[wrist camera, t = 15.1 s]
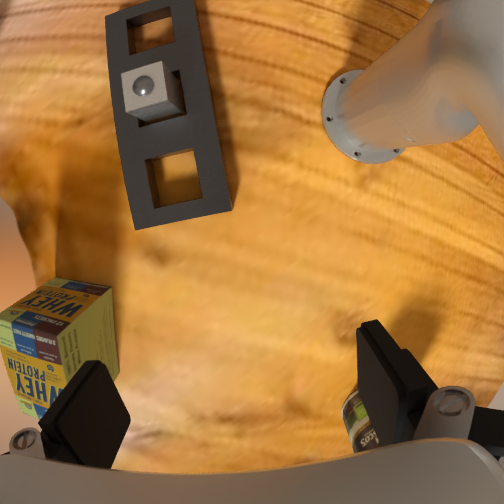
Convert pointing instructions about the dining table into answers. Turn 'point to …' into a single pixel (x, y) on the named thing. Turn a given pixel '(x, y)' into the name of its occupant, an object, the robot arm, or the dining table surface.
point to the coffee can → (358, 424)
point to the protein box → (56, 339)
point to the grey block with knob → (152, 93)
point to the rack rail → (173, 130)
